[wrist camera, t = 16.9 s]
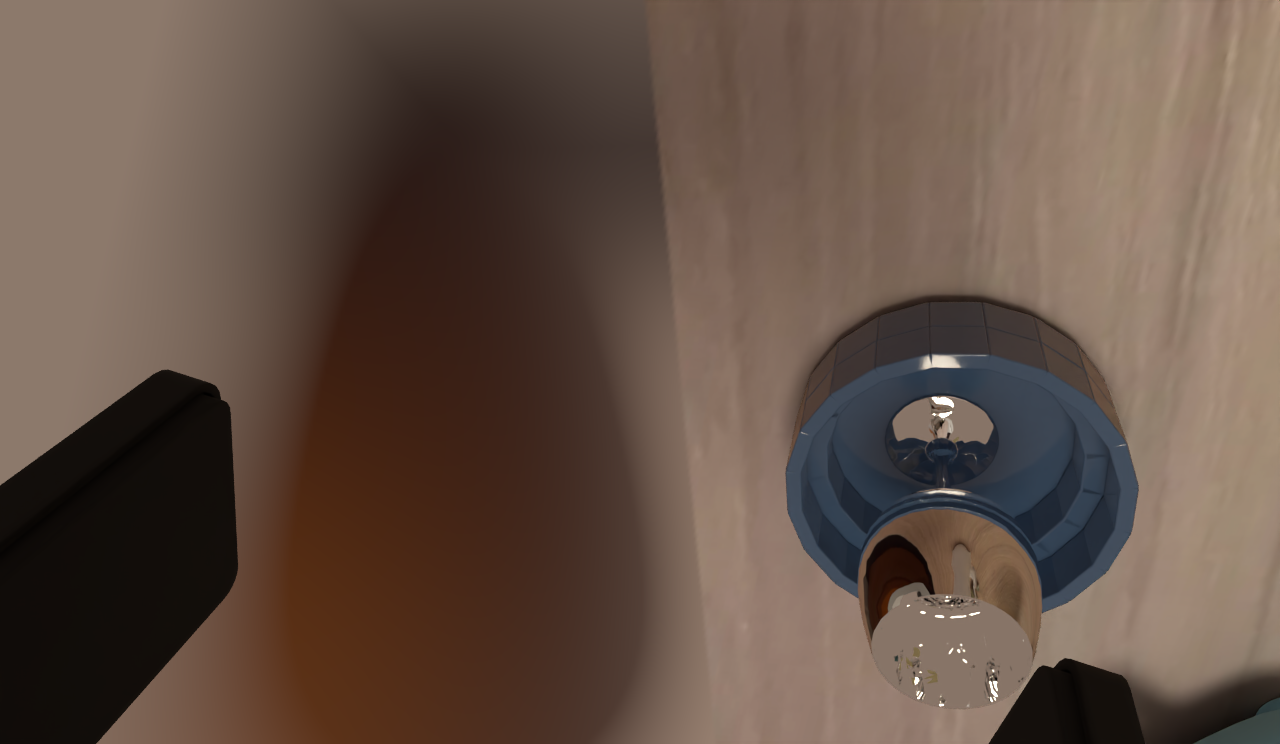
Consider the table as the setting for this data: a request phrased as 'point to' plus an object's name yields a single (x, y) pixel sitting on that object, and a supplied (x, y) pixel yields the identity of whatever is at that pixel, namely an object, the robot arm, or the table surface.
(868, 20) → the table surface
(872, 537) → the wineglass
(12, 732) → the robot arm
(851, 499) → the bowl
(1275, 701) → the teapot
